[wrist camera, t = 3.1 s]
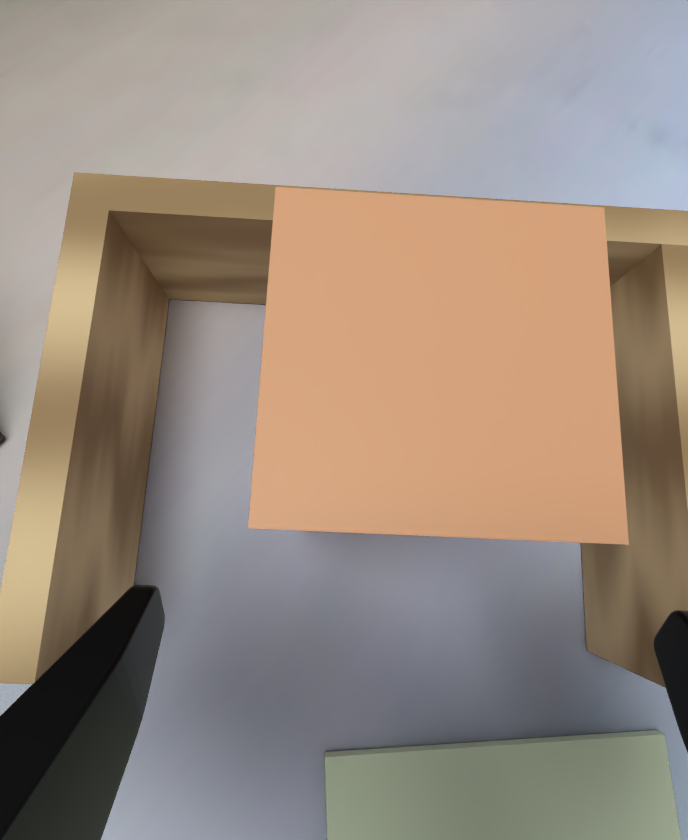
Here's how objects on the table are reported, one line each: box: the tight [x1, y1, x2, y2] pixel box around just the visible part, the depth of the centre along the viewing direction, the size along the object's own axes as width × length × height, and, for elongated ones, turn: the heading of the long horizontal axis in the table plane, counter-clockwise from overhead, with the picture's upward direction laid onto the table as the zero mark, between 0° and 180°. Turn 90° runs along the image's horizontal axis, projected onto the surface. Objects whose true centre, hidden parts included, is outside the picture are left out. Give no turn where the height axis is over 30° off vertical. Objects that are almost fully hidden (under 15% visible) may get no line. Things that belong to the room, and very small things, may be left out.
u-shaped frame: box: [0, 173, 688, 688], centre depth 17 cm, size 14×19×6 cm
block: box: [248, 187, 629, 545], centre depth 13 cm, size 5×5×13 cm
